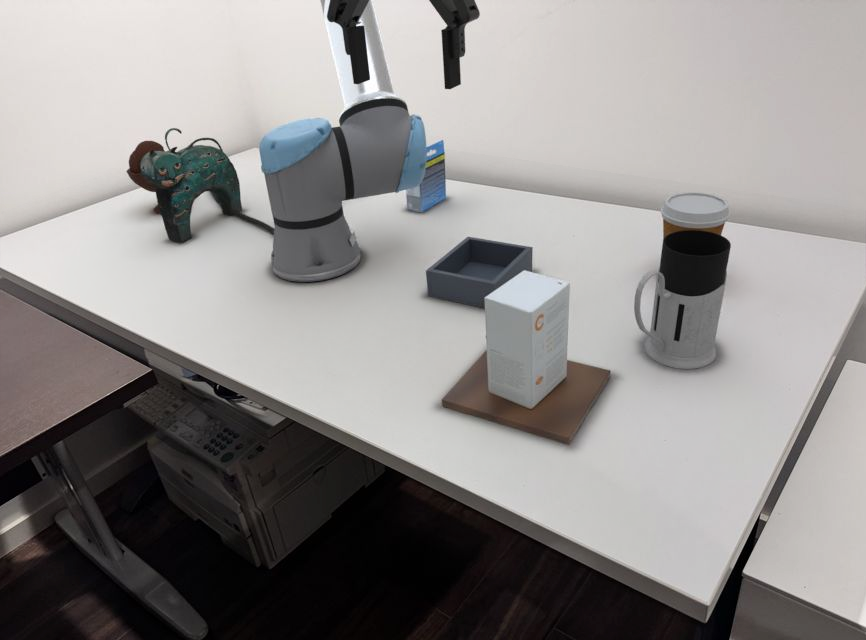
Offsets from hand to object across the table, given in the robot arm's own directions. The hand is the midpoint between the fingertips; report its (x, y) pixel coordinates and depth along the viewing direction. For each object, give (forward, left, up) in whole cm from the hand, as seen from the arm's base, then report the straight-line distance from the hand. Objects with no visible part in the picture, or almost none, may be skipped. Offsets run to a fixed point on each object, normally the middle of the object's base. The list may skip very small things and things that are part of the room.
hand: (405, 84), depth 85 cm
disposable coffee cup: (+33, +23, -32) cm, 51 cm away
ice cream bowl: (-74, +14, -32) cm, 82 cm away
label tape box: (-21, +36, -32) cm, 53 cm away
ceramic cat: (-58, +10, -32) cm, 67 cm away
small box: (+23, -14, -31) cm, 41 cm away
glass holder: (+36, 0, -32) cm, 48 cm away
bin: (+5, +9, -32) cm, 33 cm away
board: (+23, -14, -32) cm, 41 cm away
